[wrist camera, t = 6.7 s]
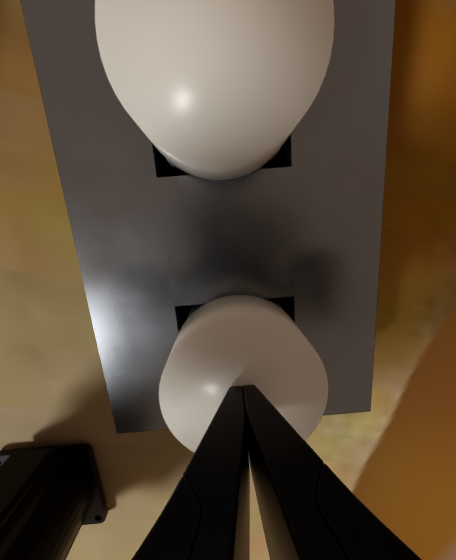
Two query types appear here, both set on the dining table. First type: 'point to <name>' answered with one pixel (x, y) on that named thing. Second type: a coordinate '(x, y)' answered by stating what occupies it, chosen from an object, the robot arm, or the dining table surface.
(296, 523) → the robot arm
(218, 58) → the knob
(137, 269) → the mount
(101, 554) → the dining table surface
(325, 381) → the knob
